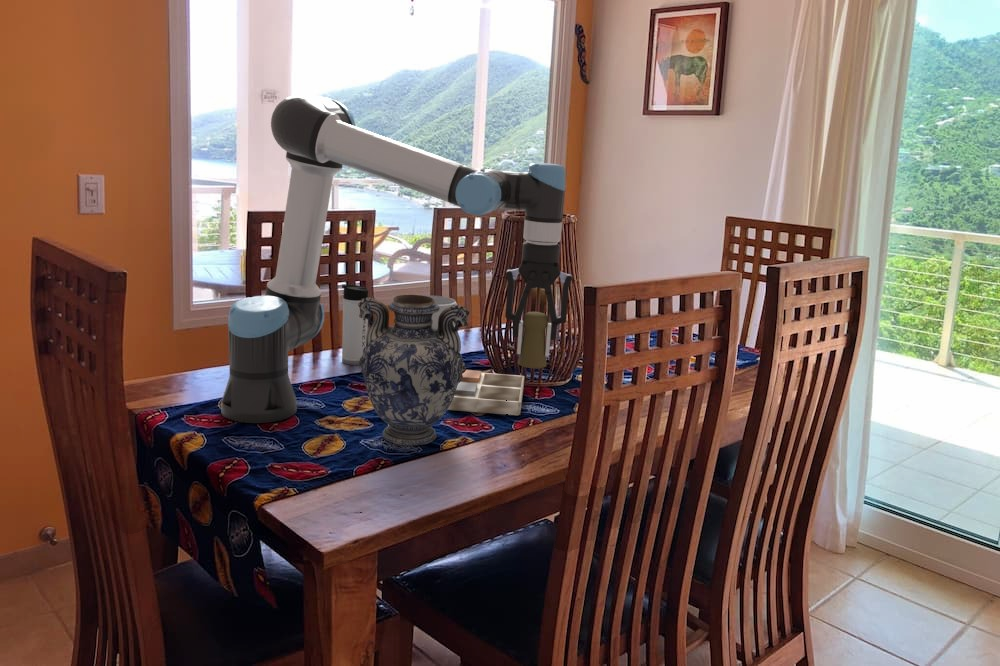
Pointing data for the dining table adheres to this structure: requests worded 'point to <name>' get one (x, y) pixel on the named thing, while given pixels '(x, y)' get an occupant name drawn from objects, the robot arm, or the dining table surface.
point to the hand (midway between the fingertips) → (533, 353)
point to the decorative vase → (411, 364)
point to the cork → (533, 341)
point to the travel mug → (353, 324)
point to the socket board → (488, 393)
